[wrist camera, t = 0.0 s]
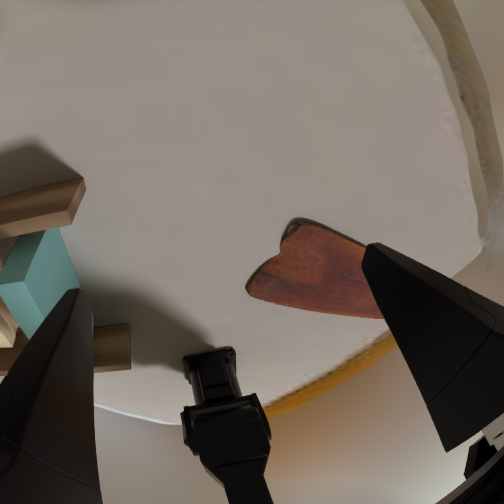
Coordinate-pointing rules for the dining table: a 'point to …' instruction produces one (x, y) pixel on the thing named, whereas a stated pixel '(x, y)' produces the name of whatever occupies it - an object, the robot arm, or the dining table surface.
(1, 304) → the offcut stack
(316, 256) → the wooden tablet
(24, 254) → the teal sheet
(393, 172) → the dining table surface
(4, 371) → the walnut rack
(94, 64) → the dining table surface
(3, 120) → the dining table surface
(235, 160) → the dining table surface
